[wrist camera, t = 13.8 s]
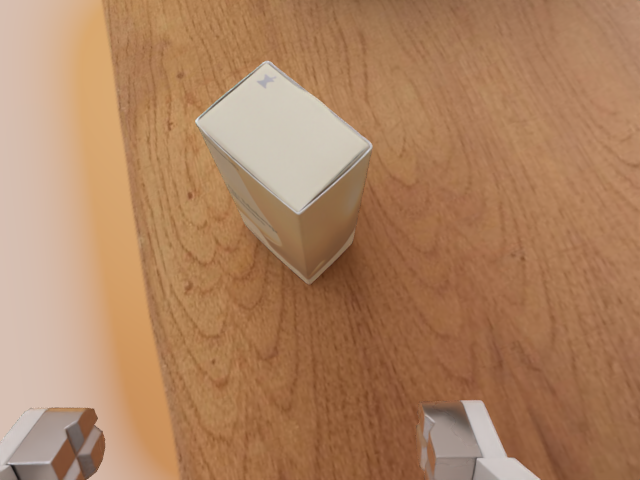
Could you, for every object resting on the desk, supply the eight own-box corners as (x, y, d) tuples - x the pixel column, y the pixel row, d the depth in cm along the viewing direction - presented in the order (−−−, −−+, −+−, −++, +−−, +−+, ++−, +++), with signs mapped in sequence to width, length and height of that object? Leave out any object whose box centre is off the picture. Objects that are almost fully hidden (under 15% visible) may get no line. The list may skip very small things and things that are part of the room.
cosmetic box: (243, 225, 29) (184, 116, 17) (289, 182, 30) (262, 52, 18) (312, 291, 27) (297, 218, 16) (358, 243, 28) (376, 141, 17)
